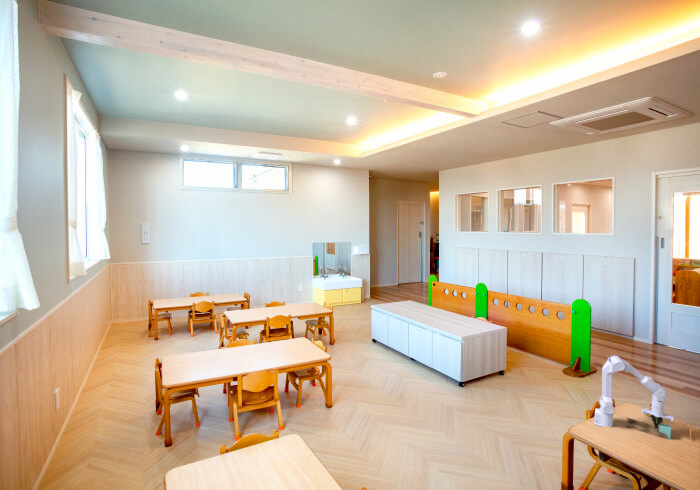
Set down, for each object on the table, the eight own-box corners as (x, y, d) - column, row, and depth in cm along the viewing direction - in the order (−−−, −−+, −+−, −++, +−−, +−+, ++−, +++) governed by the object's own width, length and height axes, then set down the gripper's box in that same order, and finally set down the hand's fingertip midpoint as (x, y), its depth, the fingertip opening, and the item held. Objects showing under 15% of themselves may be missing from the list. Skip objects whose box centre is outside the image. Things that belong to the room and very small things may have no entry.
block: (658, 435, 213) (659, 426, 213) (658, 432, 217) (659, 422, 216) (670, 439, 210) (670, 429, 209) (670, 435, 214) (670, 425, 213)
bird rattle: (648, 424, 230) (665, 423, 224) (640, 407, 232) (657, 405, 226) (647, 420, 235) (665, 419, 229) (640, 403, 237) (657, 401, 231)
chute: (626, 428, 223) (626, 422, 222) (627, 423, 228) (627, 417, 228) (667, 440, 210) (667, 435, 210) (667, 435, 215) (667, 429, 215)
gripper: (641, 404, 216) (640, 426, 218) (674, 413, 207) (672, 435, 208) (642, 400, 222) (640, 421, 223) (674, 408, 212) (672, 430, 213)
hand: (656, 427), depth 216 cm, fingers closed
